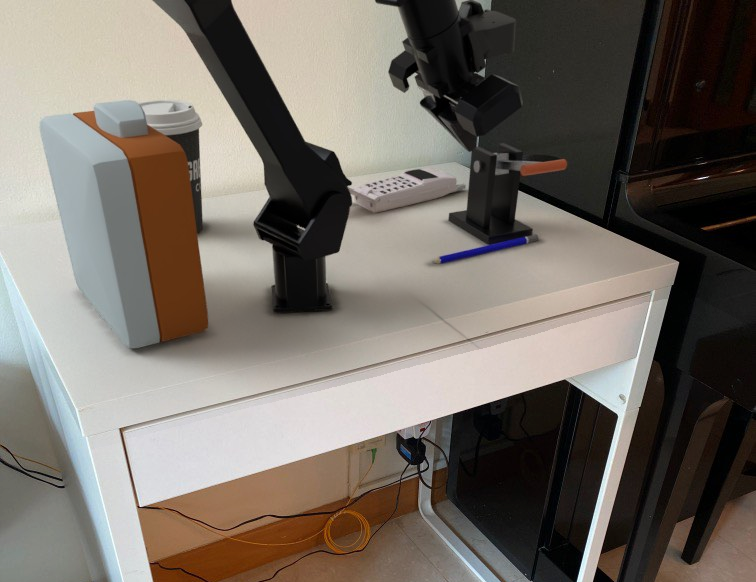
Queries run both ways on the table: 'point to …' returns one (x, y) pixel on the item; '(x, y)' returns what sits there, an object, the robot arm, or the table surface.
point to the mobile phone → (405, 189)
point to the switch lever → (526, 165)
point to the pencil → (486, 249)
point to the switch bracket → (492, 199)
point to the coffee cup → (180, 139)
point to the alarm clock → (128, 221)
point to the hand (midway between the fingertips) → (471, 148)
